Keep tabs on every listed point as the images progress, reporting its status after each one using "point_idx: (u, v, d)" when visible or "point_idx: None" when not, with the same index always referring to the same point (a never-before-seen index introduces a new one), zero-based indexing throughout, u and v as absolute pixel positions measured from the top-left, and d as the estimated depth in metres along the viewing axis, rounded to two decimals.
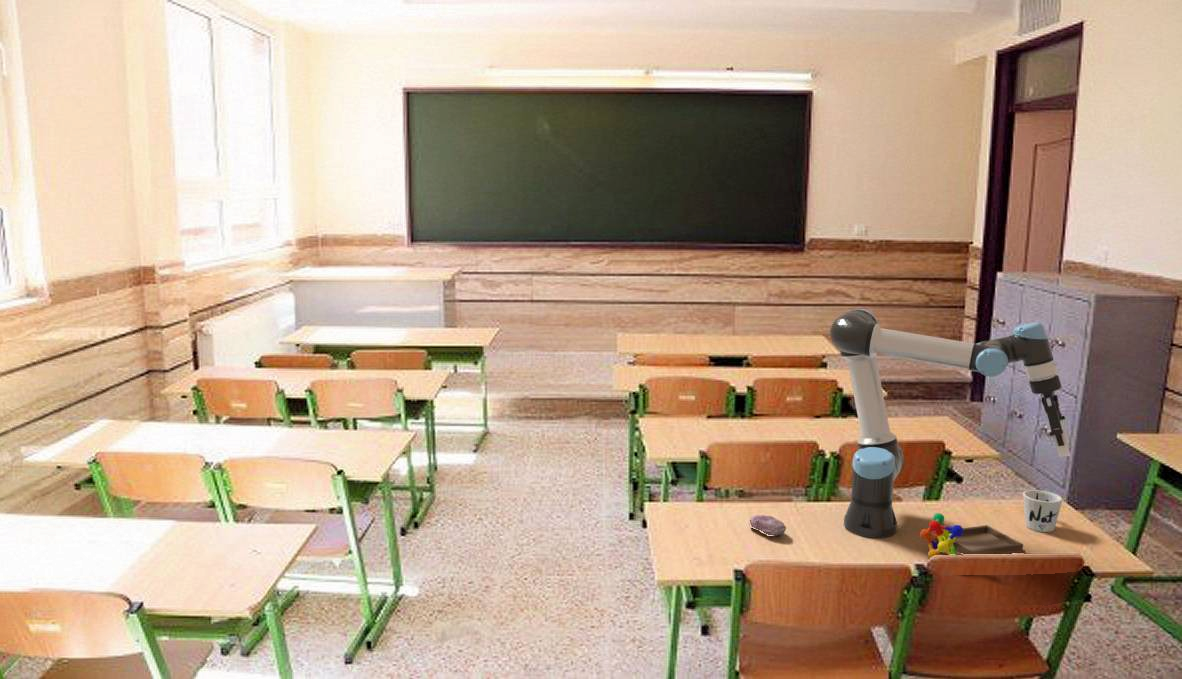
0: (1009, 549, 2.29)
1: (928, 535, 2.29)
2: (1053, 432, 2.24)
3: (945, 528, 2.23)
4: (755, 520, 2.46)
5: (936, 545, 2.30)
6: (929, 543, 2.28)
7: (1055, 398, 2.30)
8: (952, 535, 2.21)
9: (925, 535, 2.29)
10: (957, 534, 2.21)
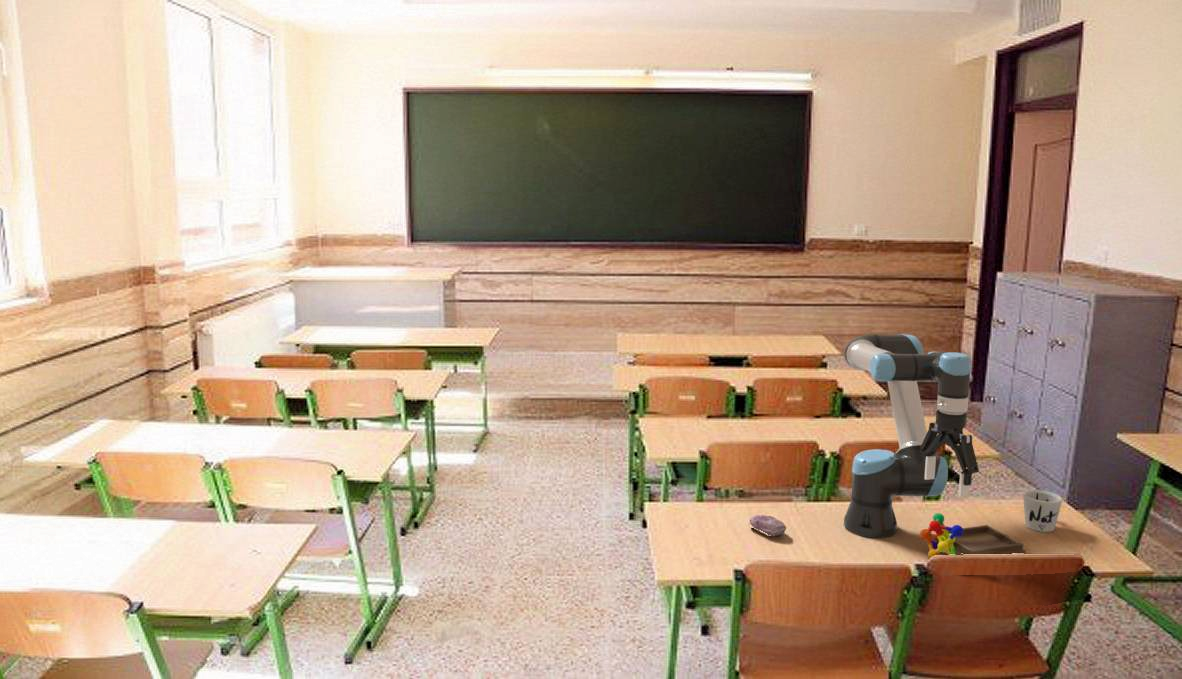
0: (1009, 549, 2.29)
1: (928, 535, 2.29)
2: None
3: (945, 528, 2.23)
4: (755, 520, 2.46)
5: (936, 545, 2.30)
6: (929, 543, 2.28)
7: None
8: (952, 535, 2.21)
9: (925, 535, 2.29)
10: (957, 534, 2.21)
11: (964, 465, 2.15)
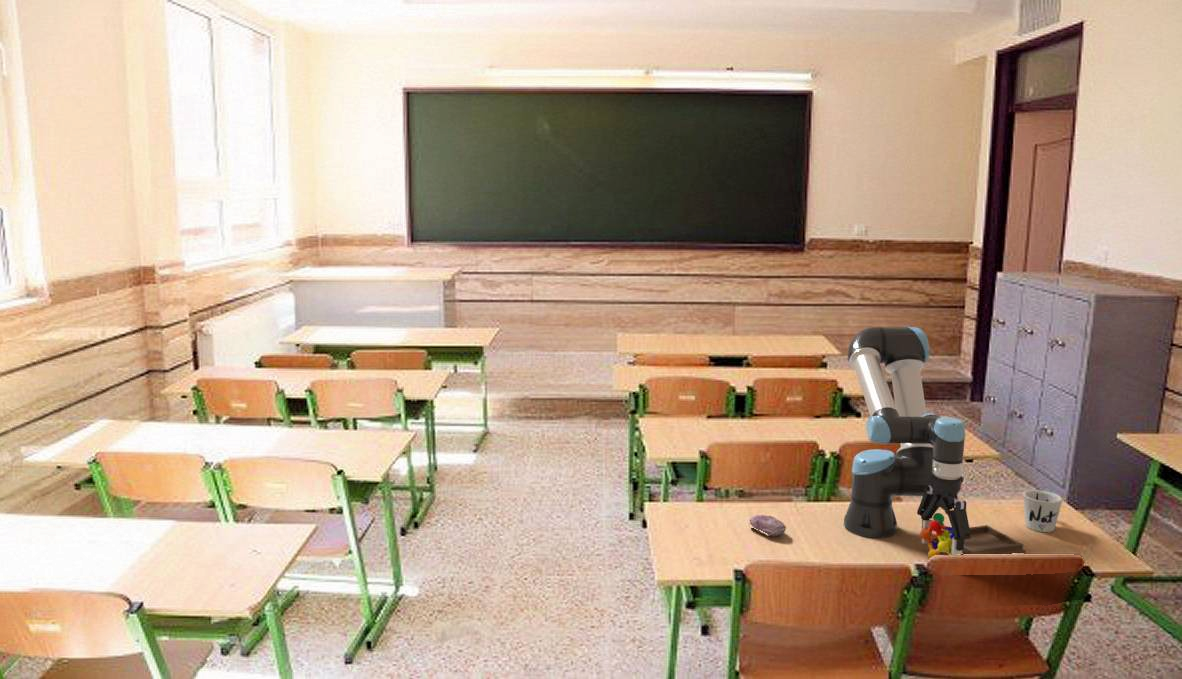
0: (1009, 549, 2.29)
1: (928, 535, 2.29)
2: None
3: (945, 528, 2.23)
4: (755, 520, 2.46)
5: (936, 545, 2.30)
6: (929, 543, 2.28)
7: None
8: (952, 535, 2.21)
9: (925, 535, 2.29)
10: None
11: (957, 531, 2.19)
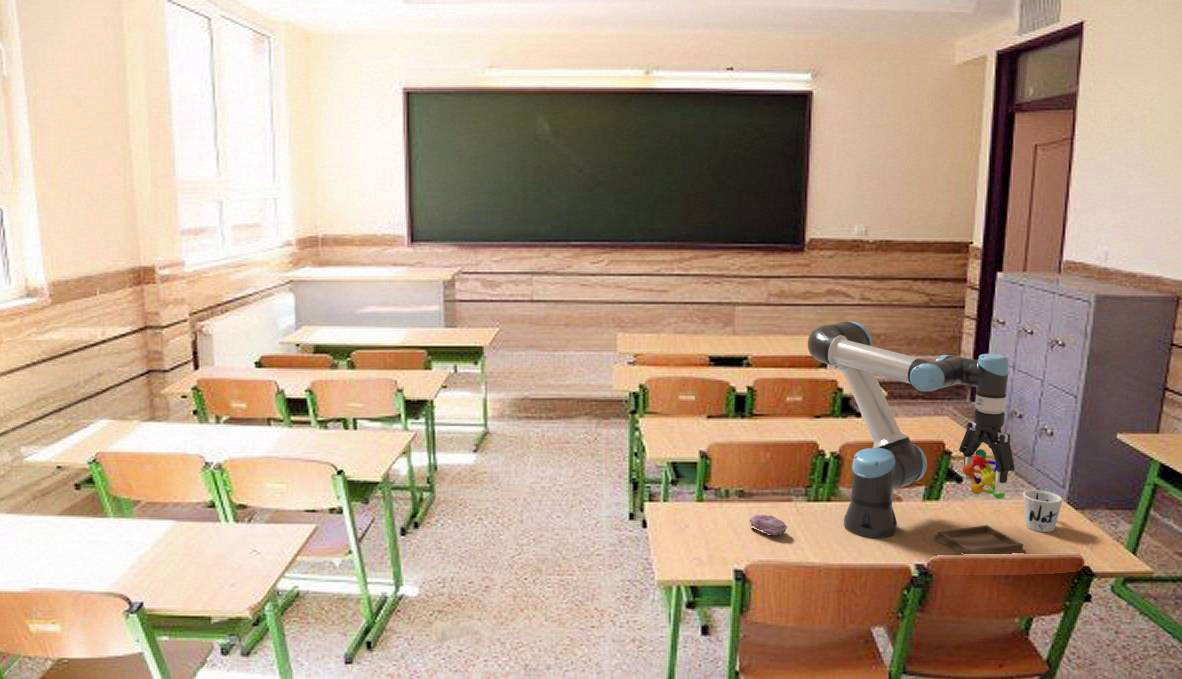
0: (1009, 549, 2.29)
1: (971, 470, 2.34)
2: None
3: (988, 462, 2.28)
4: (756, 520, 2.46)
5: (978, 481, 2.36)
6: (972, 478, 2.33)
7: None
8: (995, 468, 2.27)
9: (968, 470, 2.34)
10: None
11: (1000, 463, 2.24)
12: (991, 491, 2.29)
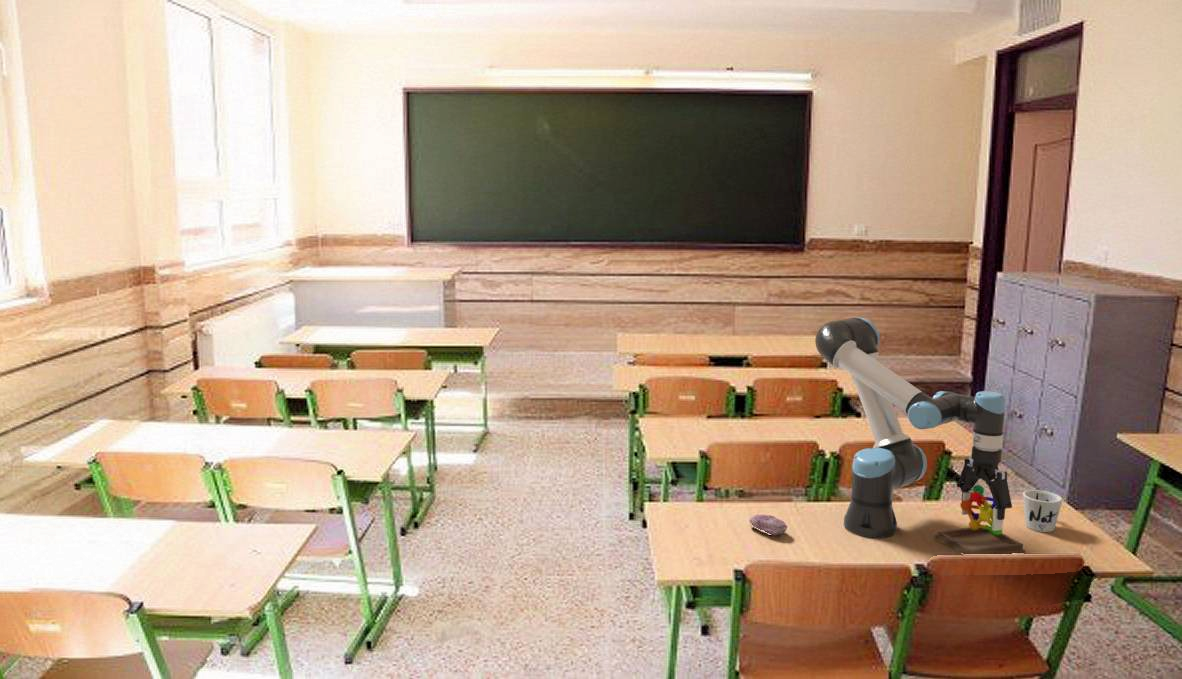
0: (1009, 549, 2.29)
1: (968, 506, 2.36)
2: None
3: (986, 498, 2.30)
4: (756, 519, 2.46)
5: (976, 516, 2.37)
6: (969, 514, 2.35)
7: None
8: (993, 505, 2.28)
9: (966, 506, 2.36)
10: None
11: (998, 501, 2.26)
12: (989, 527, 2.31)
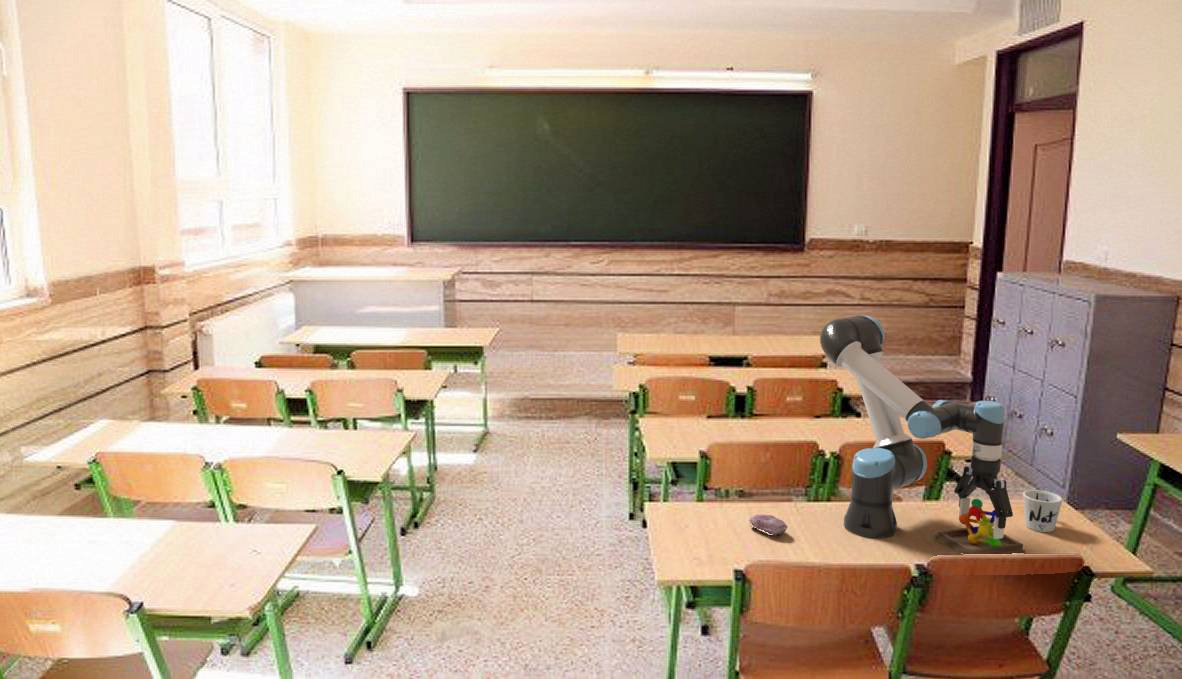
0: (1009, 549, 2.29)
1: (967, 520, 2.36)
2: None
3: (985, 513, 2.31)
4: (756, 519, 2.46)
5: (974, 530, 2.38)
6: (968, 528, 2.36)
7: None
8: (992, 519, 2.29)
9: (964, 520, 2.36)
10: None
11: (999, 509, 2.26)
12: (988, 541, 2.32)
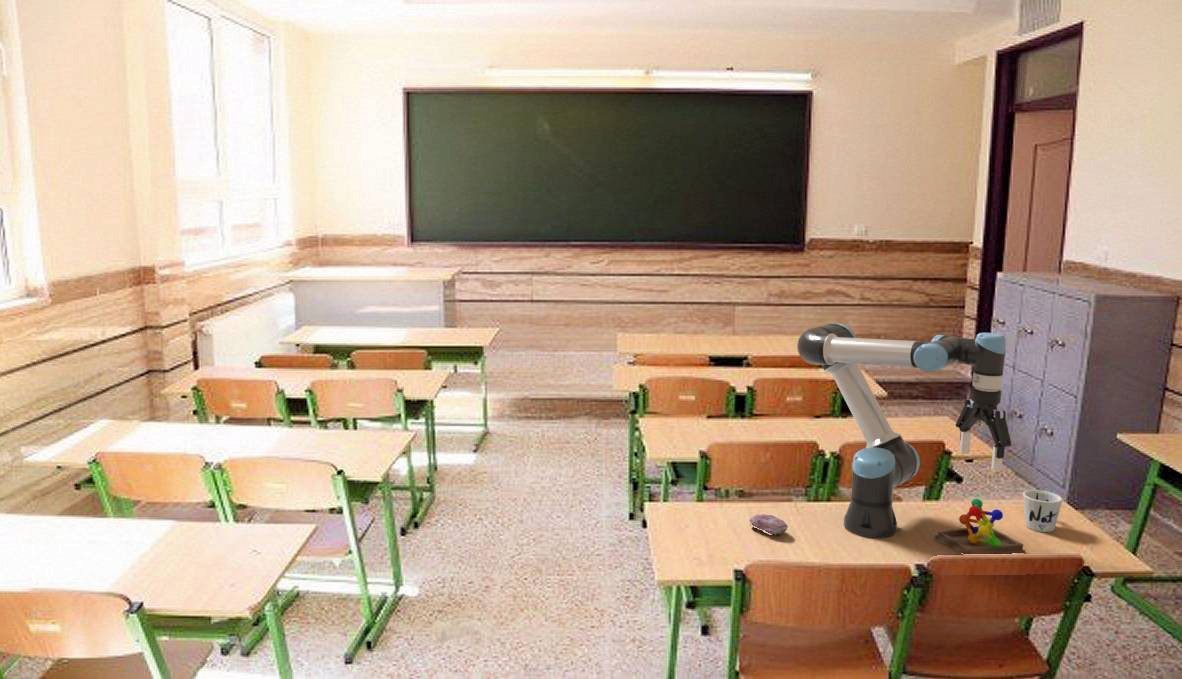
0: (1009, 549, 2.29)
1: (967, 520, 2.36)
2: None
3: (985, 513, 2.31)
4: (756, 519, 2.46)
5: (975, 530, 2.38)
6: (968, 528, 2.36)
7: None
8: (992, 519, 2.29)
9: (964, 520, 2.36)
10: (997, 518, 2.28)
11: (997, 439, 2.27)
12: (988, 541, 2.32)
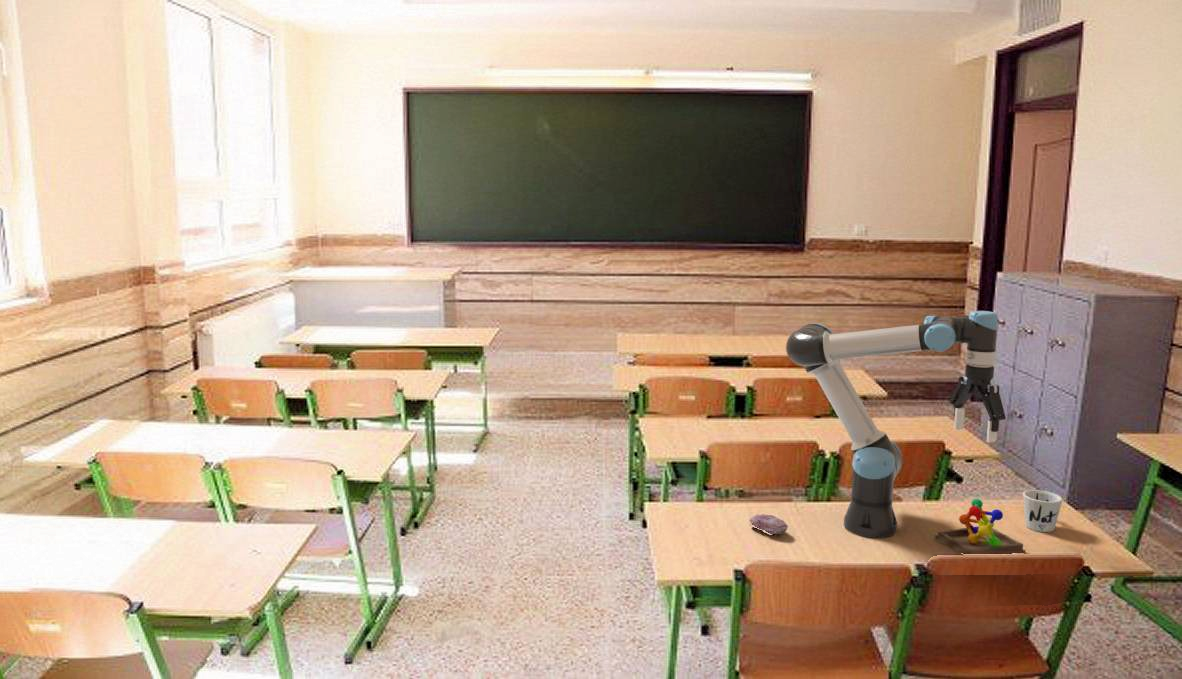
0: (1009, 549, 2.29)
1: (967, 520, 2.36)
2: None
3: (985, 513, 2.31)
4: (756, 519, 2.46)
5: (975, 530, 2.38)
6: (968, 528, 2.36)
7: None
8: (992, 519, 2.29)
9: (964, 520, 2.36)
10: (997, 518, 2.28)
11: (992, 413, 2.35)
12: (988, 541, 2.32)
